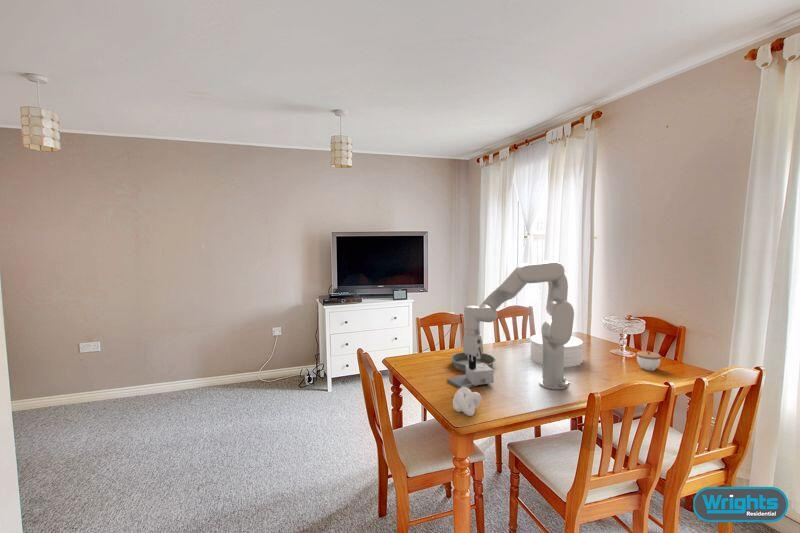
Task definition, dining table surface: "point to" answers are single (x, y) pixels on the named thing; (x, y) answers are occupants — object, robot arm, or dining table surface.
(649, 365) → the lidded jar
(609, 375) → the dining table surface
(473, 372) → the light bulb box
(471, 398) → the white decorative knot
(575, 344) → the plate stack
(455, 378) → the mat
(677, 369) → the dining table surface
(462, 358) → the cake pan
